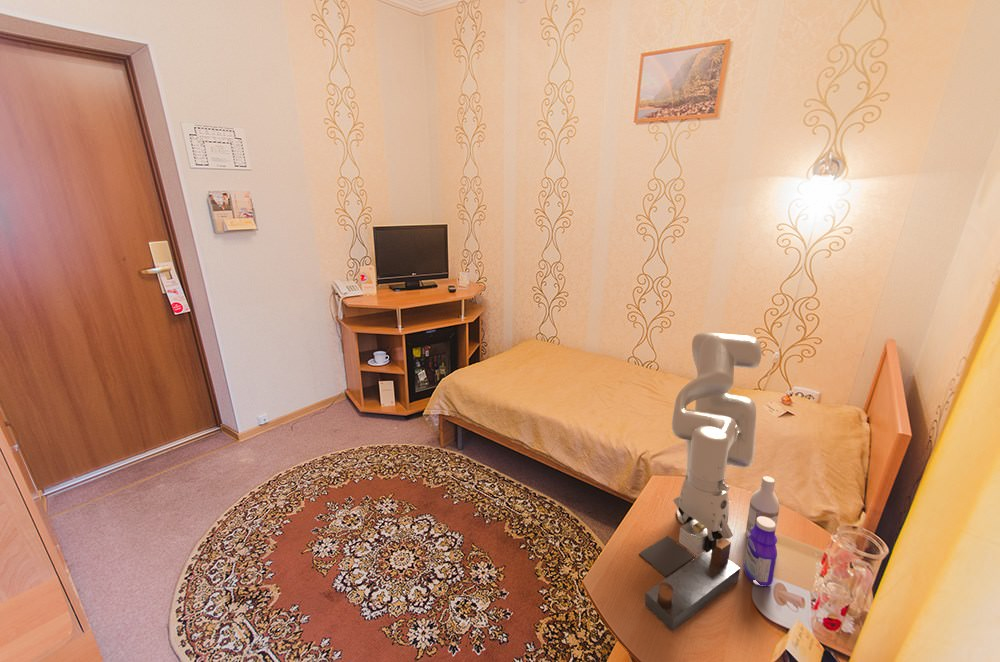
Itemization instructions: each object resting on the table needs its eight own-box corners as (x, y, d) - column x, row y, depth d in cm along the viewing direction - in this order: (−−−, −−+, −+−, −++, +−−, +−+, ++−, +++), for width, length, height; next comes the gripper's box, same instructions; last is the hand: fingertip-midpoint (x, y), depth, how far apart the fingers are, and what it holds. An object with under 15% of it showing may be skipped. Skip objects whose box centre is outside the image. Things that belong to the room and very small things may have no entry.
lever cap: (699, 528, 103) (701, 511, 102) (718, 541, 99) (720, 524, 98) (678, 542, 100) (680, 525, 98) (697, 556, 96) (699, 538, 94)
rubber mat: (667, 537, 121) (667, 535, 121) (694, 557, 113) (694, 556, 113) (639, 554, 115) (639, 553, 115) (665, 577, 108) (665, 575, 108)
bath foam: (758, 549, 115) (768, 489, 110) (739, 531, 122) (748, 473, 116) (779, 544, 117) (790, 484, 111) (759, 527, 123) (768, 469, 118)
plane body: (709, 559, 113) (713, 529, 110) (738, 580, 106) (743, 549, 103) (644, 605, 100) (646, 573, 98) (672, 632, 94) (675, 598, 91)
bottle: (739, 564, 111) (747, 511, 106) (761, 566, 110) (770, 512, 105) (752, 588, 104) (761, 532, 99) (776, 589, 103) (786, 533, 98)
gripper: (752, 493, 89) (742, 558, 94) (683, 455, 103) (678, 514, 108) (732, 506, 85) (722, 574, 91) (663, 465, 100) (659, 526, 105)
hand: (698, 540), depth 99 cm, fingers closed on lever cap, 5 cm apart
